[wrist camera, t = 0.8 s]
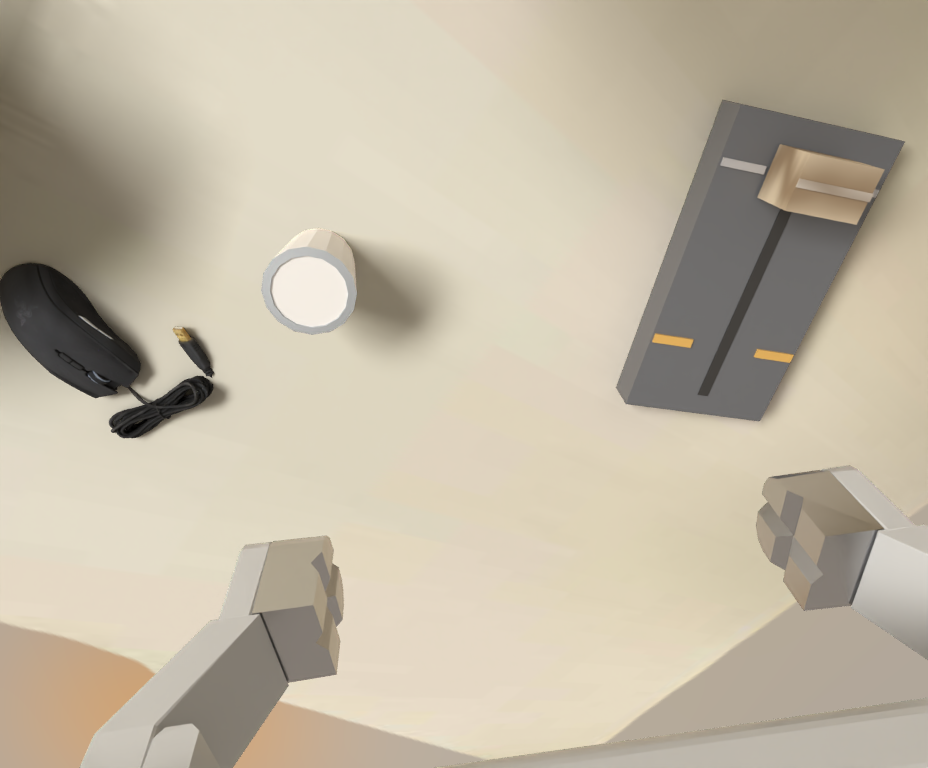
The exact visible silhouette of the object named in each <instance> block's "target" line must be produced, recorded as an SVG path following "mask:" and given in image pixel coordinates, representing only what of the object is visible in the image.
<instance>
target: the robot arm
mask: <svg viewBox="0 0 928 768" xmlns="http://www.w3.org/2000/svg"><path fill="white" fill-rule="evenodd" d="M762 495H763V496H764V497H765V499H766V500H767V501H768V502H767V503H766V504H765V505H764V506H763V507H762V508H761V509H760V510H759V511H758V515H757V522H756V529H757V535H758V540H759V543H760V545H761V548H762V550H763V552H764V553H765V555H766V556H767V558H768V559H769V561H770V562H771V563H773V564H775V565H777V566H778V567H780V568H782V569H784V570H785V572H784V578H783V582H784V583H785V584H786V586H787V587H788V589H789V590H790V592H791V593H792V595H793V596H794V597H795V599H796V600H797V602H798V603H799V605H800V606H801V608H802V609H803V610H804V611H805V610H814V609H823V608H832V607H842V606H851V605H852V607H851V608H852V609H853V610H855V611H857V612H858V613H859V614H861V615H862V616H864V617H865V618H867V619H868V620H870V621H871V622H873V623H874V624H875V625H877V626H878V627H880V628H881V629H883V630H885V631H886V632H887V633H889V634H890V635H892V636H893V637H895V638H896V639H898V640H899V641H900V642H902V643H903V644H905V645H906V646H908V647H909V648H911V649H912V650H914V651H915V652H917V653H918V654H920V655H921V656H923V657H924V658H925V659H927V660H928V526H927V525H919V526H916V525H915V524H914V523H913V522H912V521H911V520H910V519H909V518H908V517H907V516H906V515H905V514H904V513H903V512H902V511H901V510H900V509H899V508H898V507H897V506H895V505H894V504H893V503H892V502H891V501H890V500H889V499H888V498H887V497H886V496H885V495H884V494H883V493H882V492H881V491H880V490H879V489H878V488H877V487H876V486H875V485H874V484H873V483H872V482H871V481H870V480H869V479H868V478H867V477H866V476H865V475H864V474H863V473H861V472H860V471H859V470H858V469H857V468H855V467H852V466H843V467H836V468H829V469H823V470H816V471H809V472H802V473H795V474H788V475H781V476H774V477H769V478H768V479H767V480H766V482H765V483H764V486H763V491H762ZM333 552H334V550H333V547H332V544H331V540H330V537H328V536H318V537H308V538H299V539H290V540H280V541H273V542H268V543H258V544H248V545H245V546H244V547H243V548H242V550H241V551H240V553H239V556H238V559H237V562H236V566H235V569H234V572H233V575H232V578H231V581H230V585H229V588H228V591H227V594H226V597H225V601H224V604H223V607H222V610H221V613H220V616H219V619H217V620H211V621H209V622H208V623H207V624H206V625H205V626H204V627H203V628H202V629H201V630H200V631H199V632H198V633H197V634H196V635H195V636H194V637H193V638H192V639H191V640H190V641H189V642H188V643H187V644H186V645H185V646H184V647H183V648H182V649H181V650H180V651H179V652H178V653H177V654H176V655H175V656H174V657H173V658H172V659H170V660H169V661H168V662H167V663H166V664H165V665H164V666H163V667H162V668H161V669H160V670H159V671H158V672H157V673H156V674H155V675H154V676H153V677H152V678H151V679H150V680H149V681H148V682H147V683H146V684H145V685H144V686H143V687H142V688H141V689H140V690H139V691H138V692H137V693H136V694H135V695H134V696H133V697H132V698H131V699H130V700H129V701H128V702H127V703H126V704H125V705H124V706H123V707H122V708H121V709H119V711H118V712H116V713H115V714H114V715H113V716H112V717H111V719H110V720H108V721H107V722H106V723H105V724H104V725H103V726H102V727H101V728H100V729H99V730H98V731H97V732H96V733H95V734H94V736H93V738H92V741H91V743H90V745H89V747H88V750H87V752H86V754H85V756H84V759H83V761H82V763H81V765H80V768H233V767H234V765H235V764H236V762H237V761H238V759H239V758H240V757H241V755H242V754H243V752H244V751H245V749H246V748H247V746H248V745H249V743H250V742H251V740H252V739H253V737H254V736H255V734H256V733H257V731H258V730H259V728H260V727H261V725H262V724H263V723H264V721H265V719H266V718H267V717H268V715H269V714H270V712H271V711H272V709H273V708H274V706H275V705H276V703H277V702H278V700H279V699H280V698H281V696H282V695H283V693H284V692H285V690H286V689H287V687H288V686H289V685H288V683H289V682H295V681H301V680H307V679H313V678H319V677H325V676H331V675H337V667H338V658H339V649H340V638H339V635H338V632H337V628H336V627H337V625H338V624H339V623H340V622H341V621H342V619H343V608H344V597H343V584H342V578H341V574H340V570H339V567H337V566H336V565H334V564H333V563H332V560H333ZM436 768H928V698H923V699H917V700H909V701H902V702H895V703H888V704H881V705H873V706H866V707H859V708H852V709H845V710H839V711H832V712H824V713H818V714H810V715H803V716H796V717H789V718H783V719H775V720H768V721H761V722H754V723H747V724H740V725H734V726H726V727H719V728H712V729H705V730H698V731H691V732H684V733H677V734H670V735H663V736H656V737H649V738H642V739H635V740H627V741H620V742H613V743H606V744H598V745H591V746H584V747H577V748H570V749H563V750H556V751H549V752H542V753H534V754H527V755H520V756H513V757H506V758H499V759H492V760H485V761H478V762H471V763H464V764H457V765H449V766H442V767H436Z"/></svg>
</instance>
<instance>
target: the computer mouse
mask: <svg viewBox="0 0 928 768" xmlns="http://www.w3.org/2000/svg"><path fill="white" fill-rule="evenodd" d="M0 302H1V306H2V309H3V313H4V315H5V318H6V320H7V322H8V324H9V326H10V328H11V330H12V331H13V333H14V334H15V336H16V337H17V339H18V340H19V341H20V342H21V344H22V345H23V346H24V347H25V348H26V349H27V351H28V352H29V353H30V354H31V355H32V356H33V357H34V358H35V359H36V360H37V361H38V362H39V363H40V364H41V365H43V367H45V368H46V369H47V370H48V371H49V372H50V373H51V374H53V375H54V376H56V377H57V378H59V379H61V380H62V381H64V382H66V383H67V384H69V385H71V386H73V387H75V388H76V389H78V390H80V391H82V392H84V393H86V394H88V395H90V396H92V397H94V398H98V397H103V396H108V395H113V394H117V393H118V392H117V391H115V390H117V387H118V386H121V385H122V386H124V387H126V388H128V389H129V390H130V391H131V392H132V393H133V395H134V396H135V397H136V398H137V399H138V400H139V401H141V402H142V403H143V404H145V405H142V406H139V407H136V408H132V409H127V410H124V411H121V412H118V413H116V414H115V415H113V416H112V418H111V419H110V420H109V425H110V427H111V428H113V429H112V430H111V432H112V433H117V434H118V435H119V436H120V437H122V438H136V437H139V436H141V435H143V434H144V433H146V432H148V431H150V430H151V429H153V428H154V427H156V426H157V425H158V424H159V423H160V422H161V421H162V420H164V419H166V418H167V419H169V418H170V417H171V415H173V414H176V413H178V412H181V411H183V410H186V409H190V408H193V407H195V406H197V405H198V404H200V403H202V402H203V401H204V400H205V399H206V398H207V397H208V396H209V395H210V394H211V393H212V390H213V384H212V385H211V383H210V382H209V380H208V379H206V378H204V376H195V377H193V378H191V379H187V380H184V381H182V382H181V383H180V384H179V385H177V386H176V387H175V388H173V389H172V390H171V391H169V392H168V393H167V394H166V395H164V396H163V397H161V398H159V399H156V400H155V401H153V402H151V403H148V402H146V401H144V400H143V399H142V398H141V397H140V396H139V395H138V394H137V393H136V392H135V391H134V390H133V389H132V388H131V387H130V385H131V384H132V382H133V381H134V380H135V378H136V377H137V376H138V373H139V371H140V367H141V363H140V361H139V359H138V356H137V354H136V353H135V352H134V351H133V350H132V349H131V348H130V347H129V346H128V345H127V344H126V343H125V342H124V341H122V340H121V339H120V338H119V337H118V336H117V335H116V334H115V333H114V332H113V331H112V330H111V329H110V328H109V327H108V326H107V324H106V323H105V322H104V321H103V320H102V318H101V317H100V316H99V315H98V313H97V312H96V310H95V309H94V307H93V306H92V304H91V303H90V301H89V300H88V298H87V297H86V296H85V294H84V293H83V292H82V291H81V290H80V289H79V288H78V286H76V285H75V284H74V283H73V282H72V281H71V280H69V279H68V278H67V277H65V276H64V275H62V274H61V273H60V272H58V271H56V270H55V269H53V268H50V267H48V266H45V265H42V264H32V263H29V264H22V265H19V266H16V267H14V268H12V269H10V270H9V271H8V272H6V273H5V274H4V276H3V277H2V279H1V281H0ZM173 331H174V333H175V334H176V335H177V337H178V338H179V344H180V345H181V347H182V348H183V349H184V351H185V352H186V353H187V355H188V356H189V357H190V359H191V360H192V361H193V362H194V363H195V364H196V365H197V366H198V367H199V368H200V369H201V370H203V372H204V373H205V374H206V376H210V377H211V378H212V374H213V373H214V372H213V371H212V369H211V368H210V362H209V360H208V359H207V357H206V355H205V353H204V352H203V350H202V349H201V347H200V346H199V345H198V343H197V342H196V341H195V339H194V338H192V337H190V336H189V335H188V333H187V332H186V331H185V329H184V328H183V327H174V328H173ZM189 389H192V390H193V392H194V394H193V395H188V396H184V395H185V393H186V392H187V391H188V390H189ZM197 390H198V391H199V392H197ZM122 417H123V419H122V420H121V421H119V420H120V419H121V418H122ZM113 420H114V422H113ZM140 420H143V421H142V422H139V423H138V424H135V423H136V422H138V421H140ZM113 423H114V425H115V426H114V425H113Z"/></svg>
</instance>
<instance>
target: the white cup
mask: <svg viewBox="0 0 928 768" xmlns="http://www.w3.org/2000/svg"><path fill="white" fill-rule="evenodd" d="M261 291H262V294H263V297H264V301H265V304H266V307H267V308H268V310H269V311H270V312H271V313H272V315H273V316H274V317H275V318H276V319H277V321H278V322H280V323H281V324H283V325H285V326H287V327H288V328H290V329H292V330H293V331H296V332H301V333H306V334H311V335H313V334H320V333H326V332H330V331H332V330H334V329H335V328H337V327H339V326H341V325H342V324H344V323H345V322H346V320H347V319H348V317H349V316H350V315H351V313H352V312H353V311H354V306H355V301H356V296H357V287H356V272H355V261H354V257H353V253H352V250H351V248H350V247H349V245H348V244H347V242H346V241H345V240H344V239H343V238H342V237H340V236H339V235H337V234H336V233H334V232H333V231H330V230H325V229H321V228H315V229H309V230H305V231H303V232H301V233H300V234H298V235H297V236H295V237H294V238H293V239H292V240H291V241H290V242H289V243H288V244H287V245H286V246H285V247H284V248H283V249H282V250H281V251H280V252H279V253H278V254H277V255H276V256H275V257H274V258H273V259H272V261H271V262H270V264H269V266H268V267H267V269H266V270H265V272H264V273H263V281H262V290H261Z"/></svg>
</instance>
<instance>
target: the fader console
mask: <svg viewBox="0 0 928 768" xmlns="http://www.w3.org/2000/svg"><path fill="white" fill-rule="evenodd" d="M904 143H905V141H901V140H896V139H892V138H888V137H883V136H879V135H874V134H870V133H866V132H861V131H857V130H853V129H848V128H844V127H839V126H835V125H831V124H826V123H822V122H818V121H813V120H809V119H805V118H800V117H796V116H791V115H787V114H783V113H778V112H774V111H770V110H765V109H761V108H756V107H752V106H748V105H743V104H739V103H734V102H730V101H725V100H722V103H721V105H720V108H719V111H718V113H717V116H716V119H715V122H714V124H713V127H712V130H711V132H710V135H709V138H708V140H707V143H706V146H705V149H704V151H703V154H702V157H701V159H700V162H699V165H698V168H697V170H696V173H695V176H694V178H693V181H692V184H691V186H690V189H689V192H688V195H687V197H686V200H685V203H684V205H683V208H682V211H681V214H680V216H679V219H678V222H677V224H676V227H675V230H674V232H673V235H672V238H671V241H670V243H669V246H668V249H667V251H666V254H665V257H664V260H663V262H662V265H661V268H660V270H659V273H658V276H657V278H656V281H655V284H654V287H653V289H652V292H651V295H650V297H649V300H648V303H647V306H646V308H645V311H644V314H643V316H642V319H641V322H640V324H639V327H638V330H637V333H636V335H635V338H634V341H633V343H632V346H631V349H630V352H629V354H628V357H627V360H626V362H625V365H624V368H623V370H622V373H621V376H620V379H619V381H618V384H617V387H616V388H617V390H618V392H619V393H620V395H621V397H622V398H623V400H624V402H625V403H626V404H630V405H638V406H646V407H653V408H661V409H669V410H676V411H684V412H692V413H700V414H707V415H715V416H723V417H730V418H738V419H746V420H753V421H760V420H761V418H762V416H763V414H764V412H765V411H766V409H767V407H768V405H769V403H770V401H771V399H772V397H773V395H774V393H775V391H776V389H777V387H778V385H779V384H780V382H781V380H782V378H783V376H784V374H785V372H786V370H787V368H788V366H789V364H790V362H791V360H792V358H793V357H794V355H795V353H796V351H797V349H798V347H799V345H800V343H801V341H802V339H803V337H804V335H805V333H806V332H807V330H808V328H809V326H810V324H811V322H812V320H813V318H814V316H815V314H816V312H817V310H818V308H819V306H820V305H821V303H822V301H823V299H824V297H825V295H826V293H827V291H828V289H829V287H830V285H831V283H832V281H833V279H834V278H835V276H836V274H837V272H838V270H839V268H840V266H841V264H842V262H843V260H844V258H845V256H846V254H847V252H848V251H849V249H850V247H851V245H852V243H853V241H854V239H855V237H856V235H857V233H858V231H859V229H860V227H861V226H862V224H863V222H864V220H865V218H866V216H867V214H868V212H869V210H870V208H871V206H872V204H873V202H874V200H875V199H876V197H877V195H878V193H879V191H880V189H881V187H882V185H883V183H884V181H885V179H886V177H887V175H888V173H889V172H890V170H891V168H892V166H893V164H894V162H895V160H896V158H897V156H898V154H899V152H900V150H901V148H902V146H903V145H904ZM780 144H782V145H787V146H791V147H796V148H800V149H805V150H809V151H814V152H818V153H823V154H828V155H832V156H837V157H841V158H846V159H850V160H854V161H857V162H861V163H864V164H867V165H871V166H874V167H878V168H881V169H885V170H884V172H883V174H882V176H881V178H880V180H879V182H878V184H877V186H876V188H875V190H874V192H873V194H874V195H873V197H872V199H871V201H870V202H868V203H867V205H866V207H865V209H864V211H863V213H862V215H861V217H860V219H859V221H858V223H857V225H855V224H850V223H845V222H840V221H835V220H830V219H825V218H820V217H815V216H810V215H805V214H800V213H795V212H789V211H785V210H783V209H780V208H778V207H776V206H774V205H772V204H770V203H768V202H766V201H764V200H761V199H759V198H757V197H758V194H759V192H760V190H761V187H762V185H763V183H764V180H765V178H766V176H767V173H768V171H769V169H770V166H771V164H772V161H773V159H774V157H775V154H776V152H777V150H778V147H779V145H780Z"/></svg>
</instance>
